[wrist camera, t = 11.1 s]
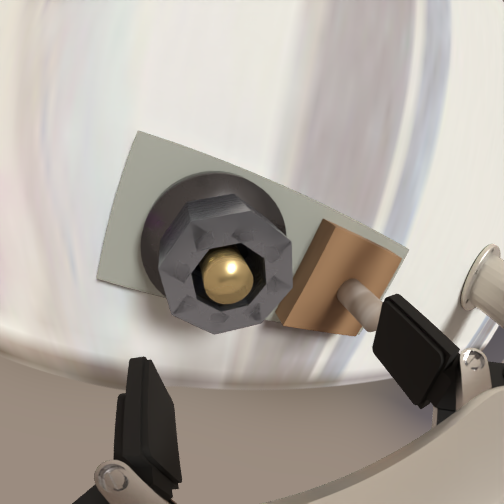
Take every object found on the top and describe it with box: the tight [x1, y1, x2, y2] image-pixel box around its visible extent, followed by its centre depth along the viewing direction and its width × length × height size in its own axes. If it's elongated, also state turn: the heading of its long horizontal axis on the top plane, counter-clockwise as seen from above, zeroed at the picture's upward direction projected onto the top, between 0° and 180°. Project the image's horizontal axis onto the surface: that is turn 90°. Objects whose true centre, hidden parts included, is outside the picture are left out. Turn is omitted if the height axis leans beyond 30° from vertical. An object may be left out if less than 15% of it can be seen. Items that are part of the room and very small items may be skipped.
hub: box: [141, 171, 286, 304], centre depth 17 cm, size 10×10×6 cm
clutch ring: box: [158, 194, 293, 334], centre depth 17 cm, size 7×7×4 cm
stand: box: [275, 219, 402, 336], centre depth 22 cm, size 9×9×6 cm
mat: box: [97, 131, 409, 335], centre depth 22 cm, size 27×11×1 cm, turn 66°
